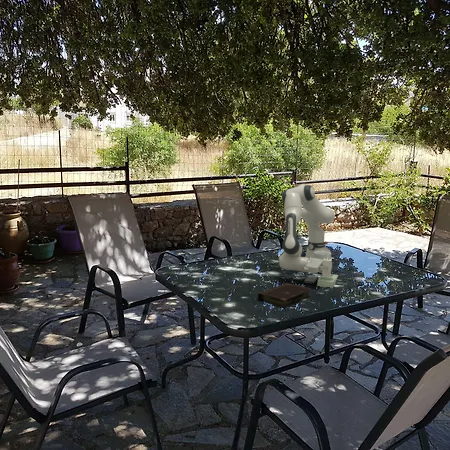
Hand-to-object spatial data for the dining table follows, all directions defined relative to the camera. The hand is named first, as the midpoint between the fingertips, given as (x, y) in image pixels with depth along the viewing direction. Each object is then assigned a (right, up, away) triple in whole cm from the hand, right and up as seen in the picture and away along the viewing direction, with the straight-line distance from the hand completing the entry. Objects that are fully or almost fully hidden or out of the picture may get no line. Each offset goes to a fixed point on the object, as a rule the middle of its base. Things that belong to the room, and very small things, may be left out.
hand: (328, 267), depth 262 cm
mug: (+3, -6, +29) cm, 30 cm away
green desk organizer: (+1, -10, +8) cm, 13 cm away
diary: (-29, -15, -21) cm, 39 cm away
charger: (-1, -5, +1) cm, 6 cm away
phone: (-8, -9, +11) cm, 16 cm away
